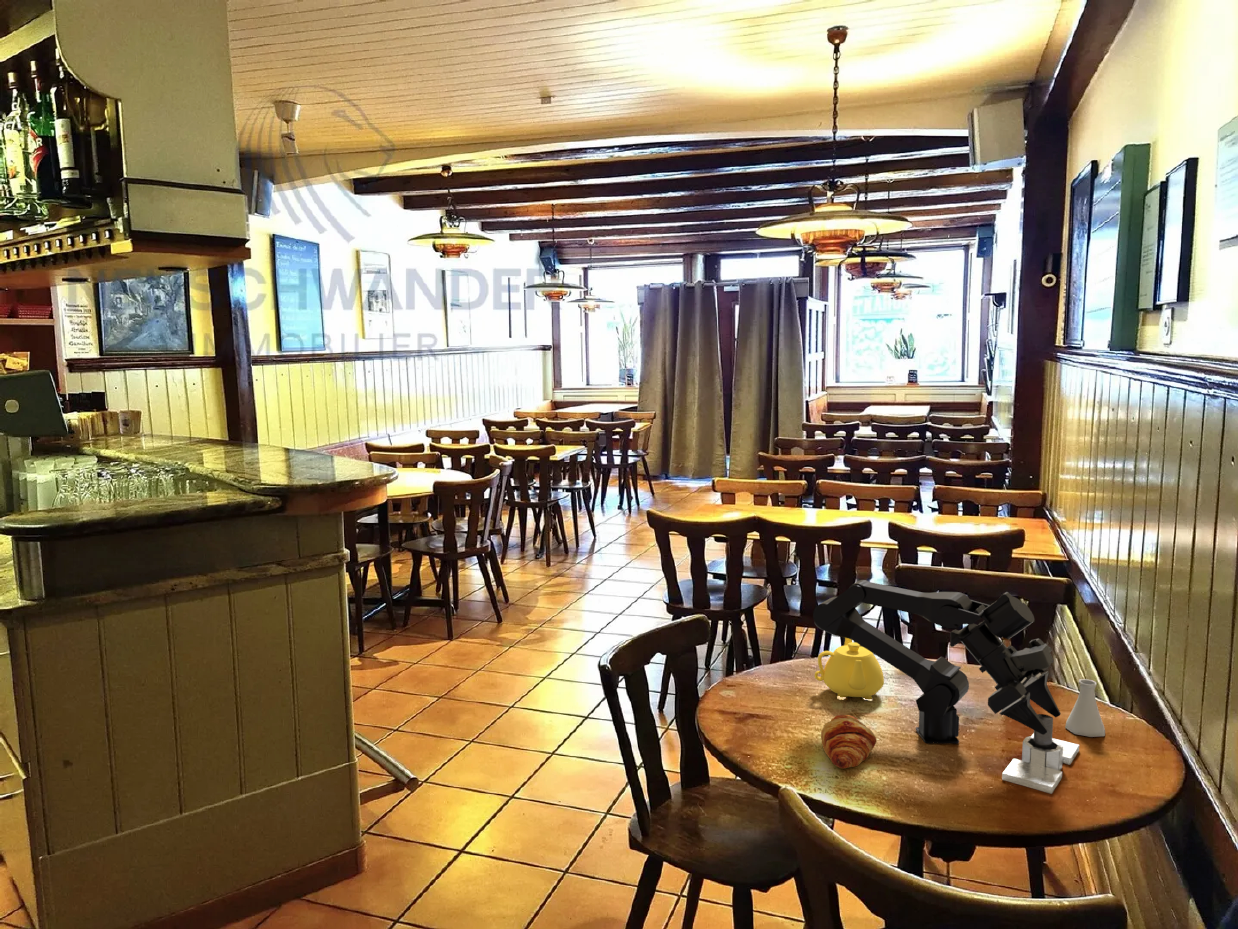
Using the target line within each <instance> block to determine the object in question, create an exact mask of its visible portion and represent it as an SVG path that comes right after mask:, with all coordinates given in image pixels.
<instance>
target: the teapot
mask: <svg viewBox="0 0 1238 929" xmlns="http://www.w3.org/2000/svg"><path fill="white" fill-rule="evenodd" d="M824 656H829V658H828V659H827V661H826V663H825V664H824V667H823V662H822V661H823V660H822V659H823V657H824ZM817 664H818V665H817V666H818V668H819V670H816V671H815V672H814V679H815V680H816V681H819V682H823V683H824V685H826V686H827V688H828V689H829V690H830V691H832V692H833V693H834V694H836V695H838V696H840V697H847V698H848V697H852V698H862V697H863V698H865V699H872V698H873V697H872V696H873V695H875V694H877V693H878V692H879V691H880V690H881V689H882V688H883V687H884V684H885V678H884V671H883V670H882V667H881V665H880V663H879V660H878V659H877V658H876V655H875V654H873V653H872V652H870V651H869V650H867V649H866V648H864V647H862V646H861V645H859V644H858V643H856V642H855V641H853V640H851V639H849V638H844V644H843V645H840V646H838V647H836V649H835V650H834V651H831V650H824V651H821V652H820V653H819V654H818V656H817ZM818 675H820V676H818Z"/></svg>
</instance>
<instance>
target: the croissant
mask: <svg viewBox="0 0 1238 929" xmlns="http://www.w3.org/2000/svg"><path fill="white" fill-rule="evenodd" d="M820 741H821V744H822V748H823V750H824V753H825V755H827V757H828V758H829V759H830V762H831V763H832V764H833V765H834V766H835V767H836V768H839V769H848V768H855V767H858V766H859V765H860V764H861V763H862V762H863V761H866V759H868V757H869V755H870V753H871V752H872V751H873V749H874V747H875V746H876V744H877V737H876V735H875V733H874V732H873V731H872V730H871V729H870V728H869V727H867V725H866V724H865V723H862V722H861V721H860V720H859V719H858V718H857V717H854V716H852V715H851V714H850V715H849V714H840V715H839V714H837V715H834V716H833V718H831V720H829V721H828V722H825V723H824V725H823V727H822V729H821V731H820Z"/></svg>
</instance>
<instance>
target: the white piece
mask: <svg viewBox="0 0 1238 929" xmlns="http://www.w3.org/2000/svg"><path fill="white" fill-rule="evenodd" d="M1033 740H1034V732H1033V733H1032V735H1031V736H1026V737H1025V738H1024V739H1023V741H1022V752H1021V759H1018V758H1012V760H1011V762H1010V763H1009V764H1008V765H1007V767H1005V769H1004V770H1003V772H1002V774H1001V780H1002V781H1006V782H1009V783H1011V784H1012V783H1013V784H1016V785H1020V786H1023V787H1027V788H1031V789H1034V790H1037V791H1040V792H1044V793H1047V794H1051V795H1052V794H1053V793H1054V791H1055V789H1056V788H1057V787H1058V785H1059V783H1060V781H1061V780H1062V778H1063V771H1061V770H1062V768H1063V764H1066V765H1070V766H1071V764H1072V763H1073V761H1074V759H1075V758H1076V756H1077V755H1078V753H1079V752H1080V744H1078V743H1073V742H1069V741H1066V740H1061V739H1057V738H1053V737H1052V749H1051V750H1044V749H1040V748H1036V747H1033Z"/></svg>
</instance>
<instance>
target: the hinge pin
mask: <svg viewBox="0 0 1238 929" xmlns="http://www.w3.org/2000/svg"><path fill="white" fill-rule="evenodd" d="M1037 715H1038V716H1039V718H1040V719H1041V721H1042V722H1043V724H1044V725H1045V727H1046V729H1047V730H1048V732H1047V733H1046V734H1044V735H1042V734H1040V733H1039V732H1037V731H1035V730H1033V733H1034V740H1033V747H1036V748H1040V749H1044V750H1051V749H1052V738H1053V731H1054V730H1053V729H1054V726H1053V725H1054V718H1053V717H1052V716H1051V715H1049V714H1043V713H1037Z"/></svg>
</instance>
